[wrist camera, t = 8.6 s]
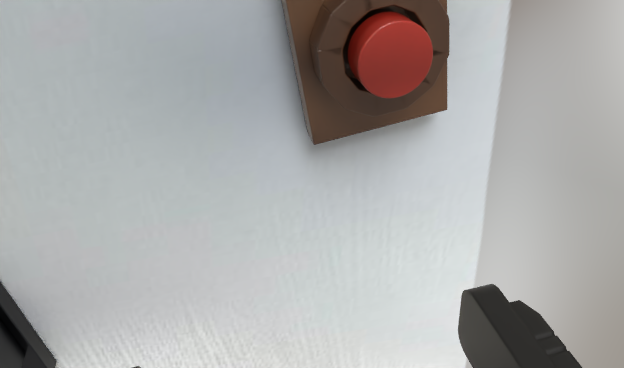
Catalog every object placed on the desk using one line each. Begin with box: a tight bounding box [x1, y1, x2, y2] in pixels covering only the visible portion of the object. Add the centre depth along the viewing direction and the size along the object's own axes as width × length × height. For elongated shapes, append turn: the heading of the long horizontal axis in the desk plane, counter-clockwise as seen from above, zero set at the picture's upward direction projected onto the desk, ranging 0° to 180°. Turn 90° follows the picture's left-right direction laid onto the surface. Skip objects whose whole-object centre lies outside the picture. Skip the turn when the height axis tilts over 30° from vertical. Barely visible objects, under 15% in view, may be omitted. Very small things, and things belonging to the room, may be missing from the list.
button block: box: [281, 0, 449, 145], centre depth 24 cm, size 10×8×4 cm
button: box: [348, 12, 433, 98], centre depth 22 cm, size 4×4×2 cm
